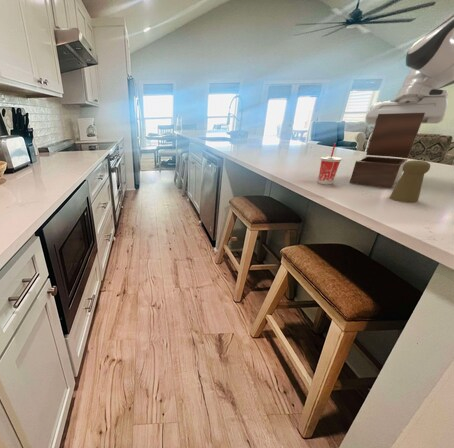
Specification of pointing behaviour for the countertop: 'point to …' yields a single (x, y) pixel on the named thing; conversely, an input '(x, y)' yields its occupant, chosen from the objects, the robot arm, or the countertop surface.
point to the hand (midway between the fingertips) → (395, 131)
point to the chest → (378, 171)
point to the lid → (394, 134)
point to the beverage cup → (328, 168)
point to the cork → (410, 181)
